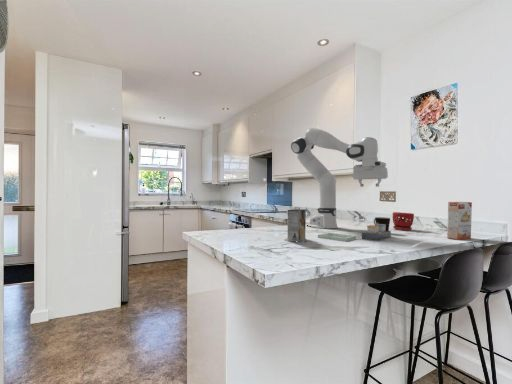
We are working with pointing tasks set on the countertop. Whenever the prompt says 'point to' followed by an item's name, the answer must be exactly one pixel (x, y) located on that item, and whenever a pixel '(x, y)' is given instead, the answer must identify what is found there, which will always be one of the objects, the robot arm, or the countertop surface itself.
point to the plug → (373, 229)
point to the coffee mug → (382, 221)
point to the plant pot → (403, 221)
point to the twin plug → (381, 227)
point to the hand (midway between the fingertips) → (369, 186)
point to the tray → (337, 236)
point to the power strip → (376, 235)
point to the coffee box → (296, 224)
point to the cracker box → (459, 220)
